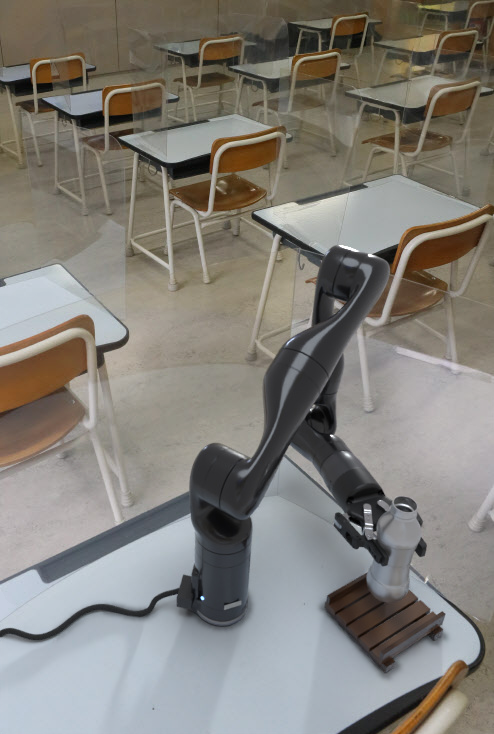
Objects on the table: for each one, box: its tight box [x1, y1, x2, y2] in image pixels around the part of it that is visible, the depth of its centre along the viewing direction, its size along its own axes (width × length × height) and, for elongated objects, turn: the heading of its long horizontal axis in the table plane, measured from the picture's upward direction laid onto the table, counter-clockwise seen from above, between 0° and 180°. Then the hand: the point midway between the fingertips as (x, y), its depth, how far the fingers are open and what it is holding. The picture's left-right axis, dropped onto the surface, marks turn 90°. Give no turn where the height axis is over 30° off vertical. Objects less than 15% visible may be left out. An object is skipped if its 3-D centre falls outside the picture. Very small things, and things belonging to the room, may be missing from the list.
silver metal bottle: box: [366, 495, 422, 603], centre depth 108 cm, size 6×7×20 cm
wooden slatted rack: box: [323, 571, 446, 674], centre depth 114 cm, size 14×14×4 cm
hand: (405, 557), depth 105 cm, fingers closed on silver metal bottle, 6 cm apart
